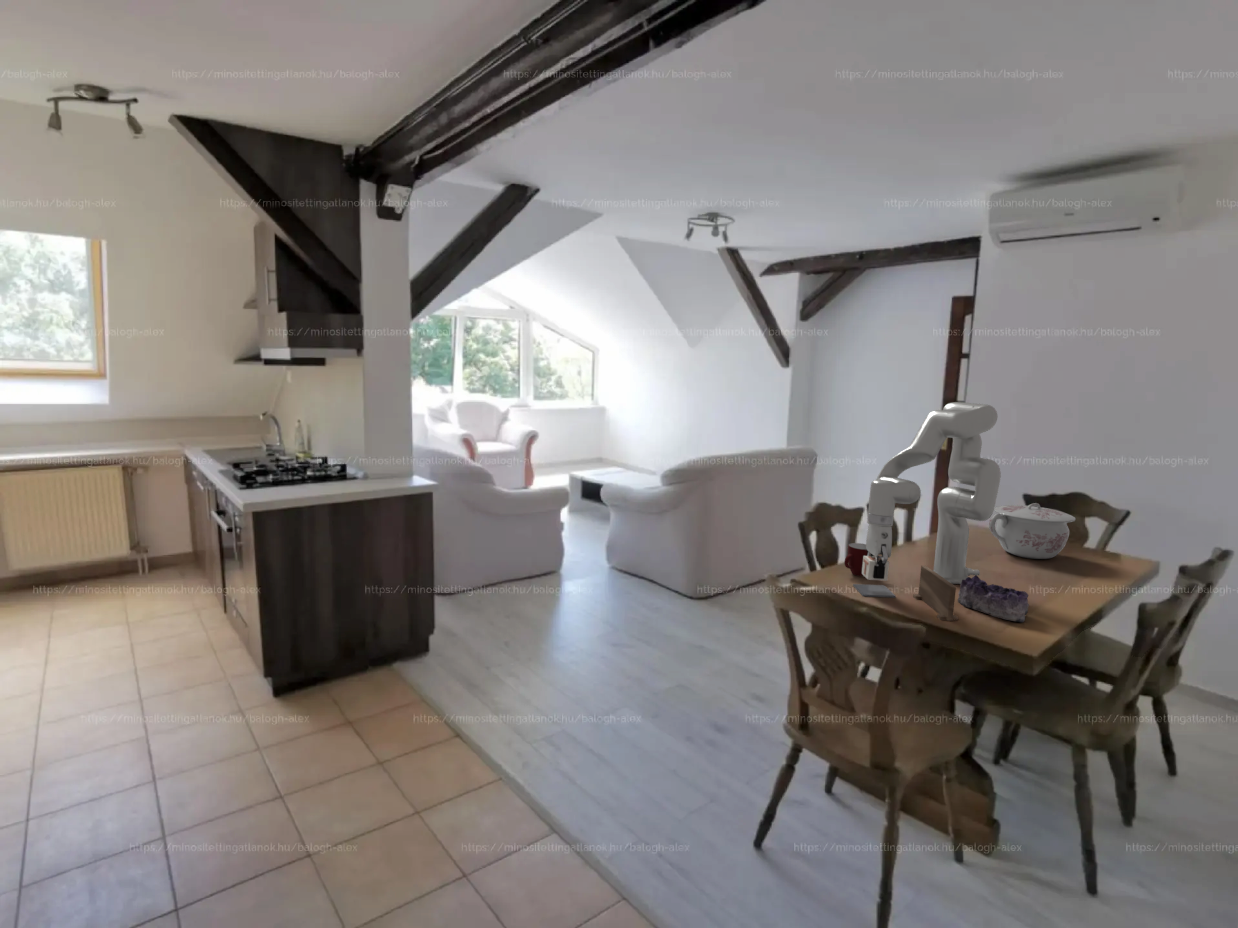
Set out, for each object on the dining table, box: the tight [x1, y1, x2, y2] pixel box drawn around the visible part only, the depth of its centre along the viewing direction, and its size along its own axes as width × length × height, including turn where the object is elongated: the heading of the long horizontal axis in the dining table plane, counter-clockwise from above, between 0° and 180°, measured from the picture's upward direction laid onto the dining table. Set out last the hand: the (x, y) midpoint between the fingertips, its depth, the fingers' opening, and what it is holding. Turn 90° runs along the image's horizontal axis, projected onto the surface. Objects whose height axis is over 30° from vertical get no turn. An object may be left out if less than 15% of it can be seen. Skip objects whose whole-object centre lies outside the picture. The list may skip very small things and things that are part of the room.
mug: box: [844, 542, 868, 577], centre depth 230 cm, size 11×8×10 cm
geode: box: [957, 575, 1029, 623], centre depth 199 cm, size 20×12×10 cm, turn 38°
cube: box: [862, 556, 890, 582], centre depth 212 cm, size 6×6×6 cm
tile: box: [852, 583, 896, 598], centre depth 213 cm, size 10×10×1 cm
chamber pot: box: [988, 502, 1076, 560], centre depth 262 cm, size 28×28×21 cm
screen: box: [912, 565, 959, 622], centre depth 199 cm, size 5×20×10 cm, turn 178°
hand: (874, 574), depth 212 cm, fingers closed on cube, 6 cm apart
